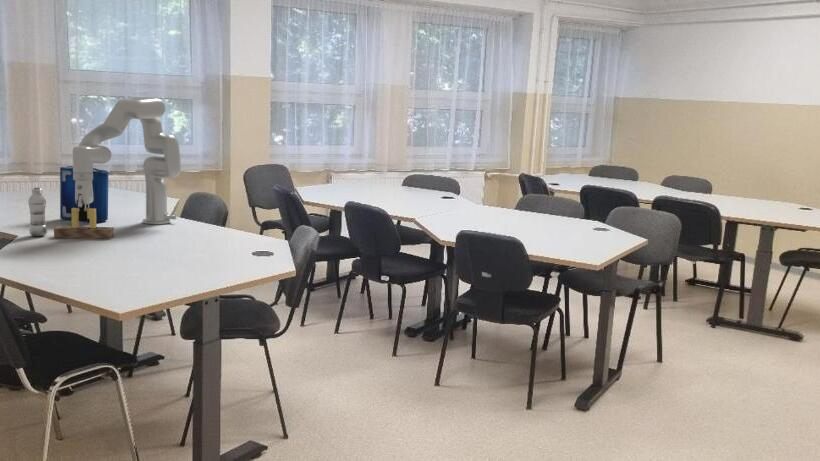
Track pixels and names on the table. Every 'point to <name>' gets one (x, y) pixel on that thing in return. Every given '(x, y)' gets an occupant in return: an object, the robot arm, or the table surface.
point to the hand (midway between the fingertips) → (84, 219)
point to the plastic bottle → (37, 213)
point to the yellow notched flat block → (90, 215)
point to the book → (98, 194)
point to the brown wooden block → (84, 232)
